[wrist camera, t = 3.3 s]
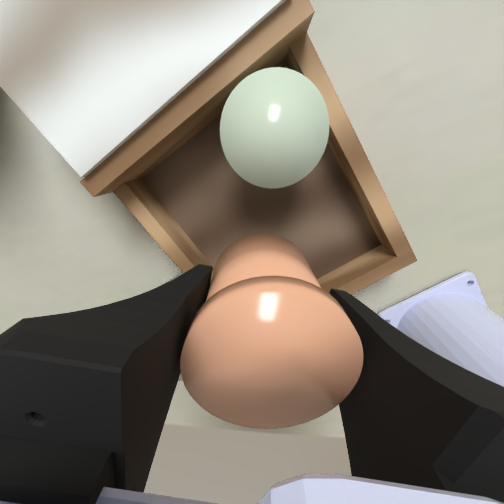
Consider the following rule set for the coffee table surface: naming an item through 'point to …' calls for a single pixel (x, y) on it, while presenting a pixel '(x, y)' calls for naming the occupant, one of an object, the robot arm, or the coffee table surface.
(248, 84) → the mint green knob
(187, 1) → the cold frame
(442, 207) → the coffee table surface
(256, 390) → the peach rounded knob
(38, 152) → the coffee table surface
